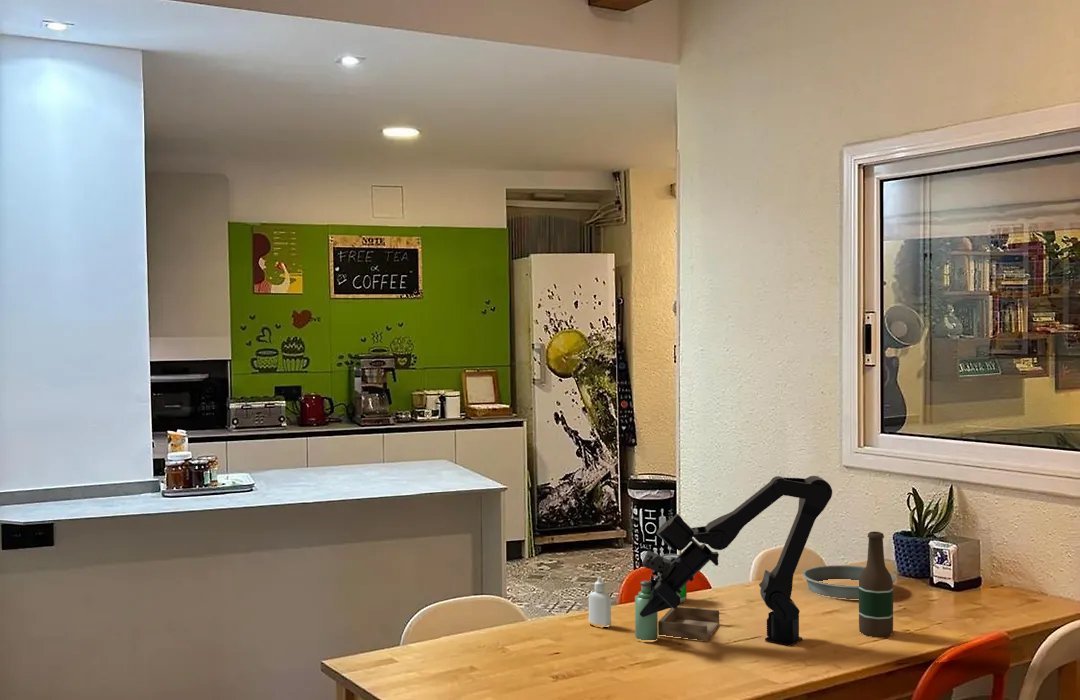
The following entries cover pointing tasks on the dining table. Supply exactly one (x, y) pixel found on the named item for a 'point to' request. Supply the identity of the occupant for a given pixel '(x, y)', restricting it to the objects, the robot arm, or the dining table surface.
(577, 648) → the dining table surface
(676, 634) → the u rest
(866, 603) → the beer bottle
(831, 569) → the cake pan
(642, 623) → the bottle
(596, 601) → the eye dropper bottle
